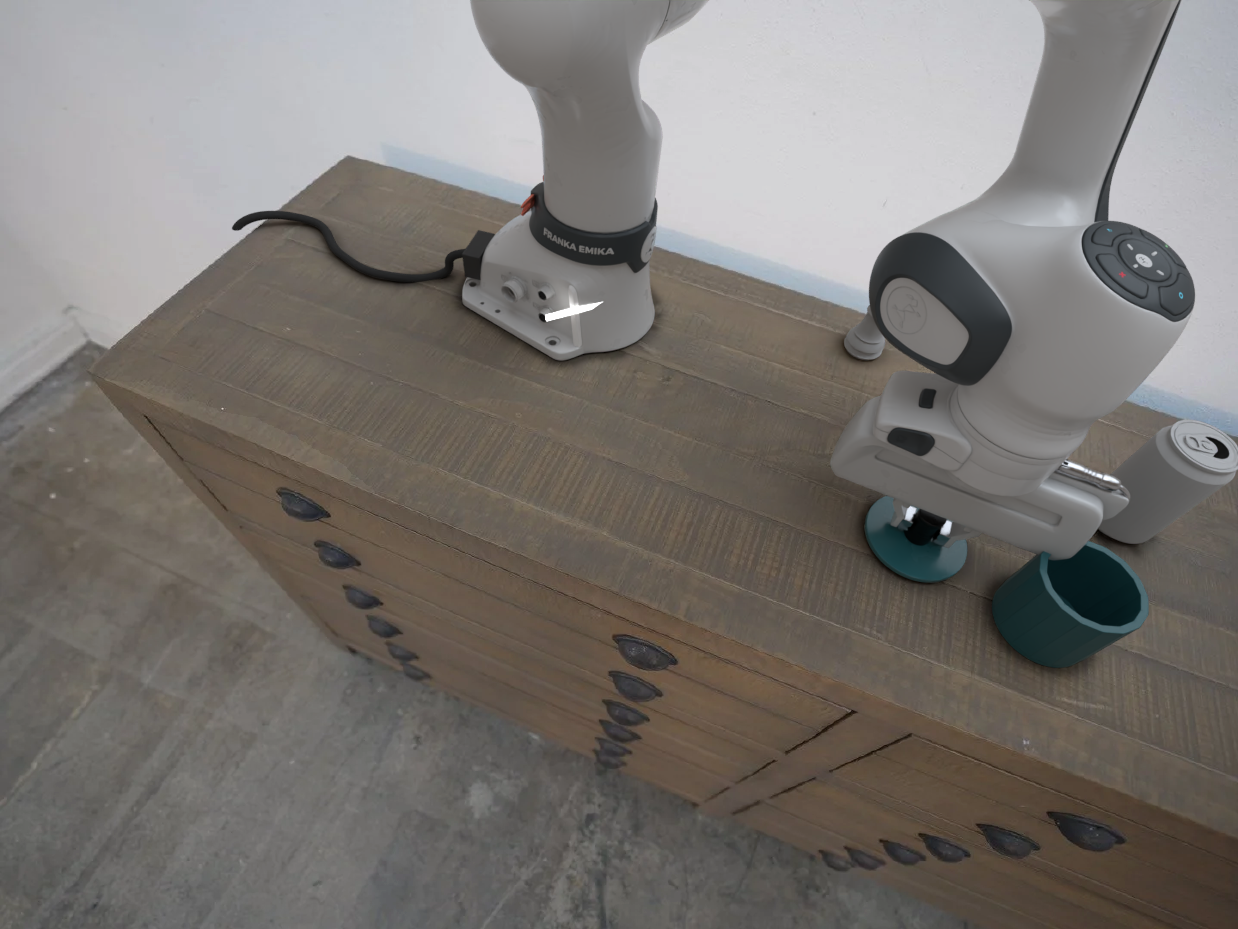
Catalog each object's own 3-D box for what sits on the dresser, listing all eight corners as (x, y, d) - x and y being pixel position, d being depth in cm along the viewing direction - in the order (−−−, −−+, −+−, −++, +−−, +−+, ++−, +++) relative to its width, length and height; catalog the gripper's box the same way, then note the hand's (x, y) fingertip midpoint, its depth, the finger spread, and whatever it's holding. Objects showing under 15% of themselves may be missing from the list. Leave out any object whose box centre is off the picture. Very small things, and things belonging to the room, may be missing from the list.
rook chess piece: (883, 341, 79) (911, 287, 73) (878, 367, 77) (907, 312, 70) (845, 330, 80) (870, 275, 74) (839, 355, 77) (865, 300, 71)
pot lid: (852, 559, 62) (870, 534, 58) (873, 485, 67) (891, 457, 63) (954, 602, 60) (980, 578, 56) (968, 522, 65) (992, 495, 61)
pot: (986, 642, 58) (1036, 604, 52) (997, 565, 62) (1043, 523, 56) (1086, 684, 56) (1149, 651, 50) (1089, 603, 61) (1148, 563, 55)
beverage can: (1155, 554, 64) (1261, 482, 55) (1086, 539, 65) (1179, 465, 55) (1139, 499, 68) (1235, 423, 58) (1074, 486, 68) (1158, 408, 59)
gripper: (1144, 458, 50) (1039, 549, 61) (875, 363, 55) (822, 464, 66) (1145, 522, 47) (1034, 607, 58) (857, 415, 51) (805, 513, 62)
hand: (919, 531), depth 62 cm, fingers closed on pot lid, 2 cm apart
